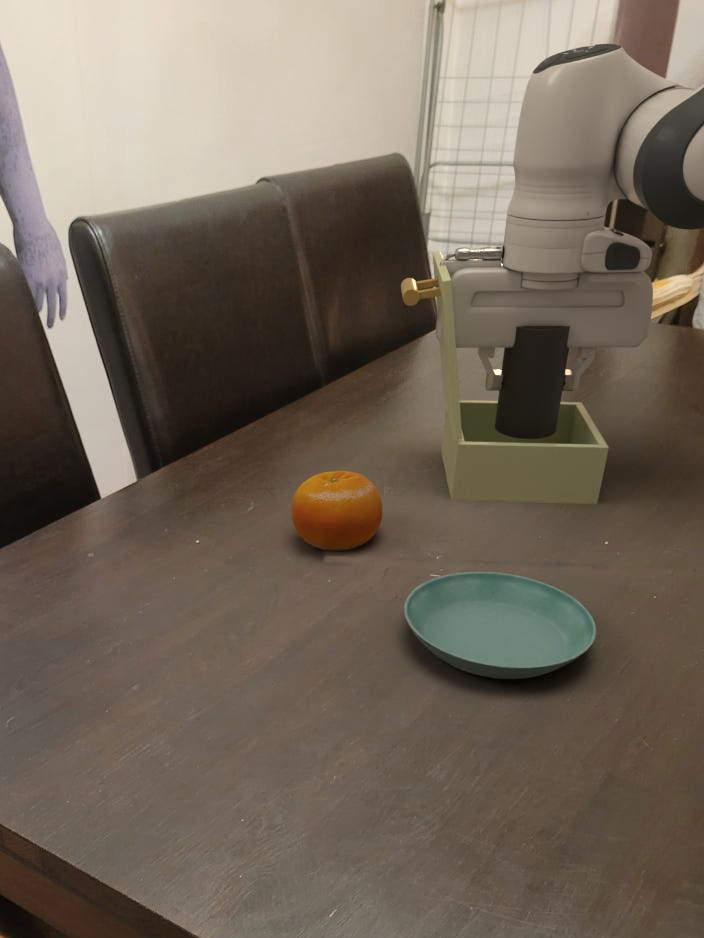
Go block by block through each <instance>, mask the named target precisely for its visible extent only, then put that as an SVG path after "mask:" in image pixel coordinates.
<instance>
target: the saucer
mask: <svg viewBox="0 0 704 938" xmlns="http://www.w3.org/2000/svg"><path fill="white" fill-rule="evenodd" d="M403 614H404V618H405V620H406V621H407V624H408V626H409V628H410V629H411V631H412V633H413V634H414V635H415V636H416V638H417V639H418V641H419V642H420V643H421V644H422V645H423V646H424V647H426V649H427V650H429V651H430V652H431V653H432V654H433V655H435V656H436V657H437V658H439V659H440V660H441V661H443V662H445V663H446V664H448V665H450V666H452V667H453V668H456V669H458V670H460V671H463V672H466V673H469V674H472V675H476V676H480V677H486V678H491V679H500V680H521V679H530V678H536V677H539V676H544V675H545V674H548V673H551V672H553V671H557V670H558V669H561V668H563V667H565V666H567V665H568V664H570V663H572V662H574V661H575V660H576V659H578V658H579V657H581V656H582V655H584V654H585V653H586V652H587V651H588V650H589V649H590V648H591V647H592V645H593V643H594V642H595V640H596V636H597V625H596V622H595V619H594V618H593V616H592V615H591V613H590V612H589V610H588V608H586V607H585V606H584V604H582V603H581V602H580V601H579V600H578V599H576V598H575V597H573V596H572V595H570V594H569V593H567V592H565V591H563V590H562V589H559V588H558V587H555V586H553V585H550V584H548V583H545V582H543V581H540V580H537V579H533V578H529V577H527V576H521V575H518V574H512V573H511V574H509V573H504V572H496V571H464V572H463V571H462V572H455V573H450V574H449V573H448V574H445V575H440V576H437V577H434V578H432V579H429V580H426V581H425V582H423V583H421V584H419V585H417V586H416V587H415V588H414V589H413V590H412V591H410V592H409V594H408V595H407V597H406V599H405V602H404V605H403Z"/></svg>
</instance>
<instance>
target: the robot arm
mask: <svg viewBox="0 0 704 938" xmlns="http://www.w3.org/2000/svg"><path fill="white" fill-rule="evenodd" d="M517 123H518V124H517V130H516V137H515V142H514V143H515V144H514V152H513V158H512V159H513V160H512V163H513V164H512V166H513V170H514V187H513V193H512V196H511V199H510V201H509V202H508V206H507V211H506V212H507V213H506V221H505V229H504V236H503V237H504V238H503V245H502V246H484V247H478V248H477V247H476V248H470V247H465V246H464V247H458V248H456V249H455V250H454V251H453V252H450V253H448V254H447V255H445V256H444V257H443V259H442V261H441V262H440V265H439V266H444V265H446V267H447V270H448V273H449V275H450V278H451V281H452V296H453V311H454V325H455V340H456V349H477V354H478V357H479V359H480V362H481V364H482V366H483V368H484V370H485V372H486V373H485V381H484V382H485V383H484V385H485V390H486V391H487V392H493V391H494V392H497V391H498V392H499V391H501V389H502V384H501V383H502V381H503V373H502V369H494V368H493V366H492V364H491V361H490V359H494V358H495V353H496V349H504V348H512V347H513V346H514V342H515V335H516V327H523V326H569V327H570V329H569V335H568V343H567V347H568V348H569V349H571V348H573V349H574V348H576V353H577V354H578V355H579V357H578V358H577V359H576V360H575V362H574V363H573V365H572V366H571V368H570V369H566V371H565V377H564V384H563V390H562V392H577V391H578V389H579V385H580V379H581V375H583V374H584V372H586V370H587V369H588V368H589V366H590V365H591V364H592V363H593V361H594V360H595V359H596V353H597V348H639V347H640V346H641V345H642V343H644V342H645V340H647V338H648V337H649V334H650V329H651V322H652V316H653V315H652V314H653V301H654V287H653V283H652V280H651V278H650V277H649V275H648V274H646V272H645V271H646V270H647V269H648V268H649V267H650V266H651V262H652V259H653V250H652V249H651V247H650V246H649V244H647V243H646V242H644V241H643V240H642V239H640V238H638V237H636V236H634V235H631V234H629V233H626V232H622V231H621V230H619V229H616V228H613V227H612V228H611V227H608V226H607V227H606V226H605V221H606V216H607V209H608V206H609V204H611V203H612V202H614V201H616V200H629V201H630V202H632V203H633V204H635V205H637V206H639V207H641V208H644V209H646V210H647V211H648V212H649V213H650V214H652V216H654V217H655V218H656V219H657V220H658V221H660V222H662V223H663V224H665V225H667V226H669V227H672V228H675V229H679V230H689V231H691V230H701V229H704V83H703V84H701V86H698V87H697V88H691V87H686V86H684V85H682V84H681V85H680V84H678V83H677V82H674V81H672V80H670V79H667V78H665V77H662V76H660V75H659V74H657V73H655V72H653V71H651V70H649V69H648V68H647V67H644V66H643V65H641V64H640V63H639V62H637V61H636V60H635V59H634V58H633V57H631V55H629V54H628V53H627V52H626V50H625V49H624V48H623V46H621V45H620V44H616V43H598V44H594V45H590V46H588V45H586V46H581V47H577V48H572V49H568V50H564V51H561V52H557V53H555V54H552V55H550V56H548V57H546V58H545V59H543V60H542V61H541V62H540V63H539V64H538V65H537V66H536V67H535V68H534V69H533V71H532V73H531V74H530V76H529V79H528V81H527V84H526V86H525V91H524V94H523V99H522V103H521V107H520V112H519V118H518V122H517ZM451 258H454V259H451ZM437 286H438V287H439V281H438V278H437ZM436 315H437V314H436ZM435 336H436V339H437V341H438V342H440V343H441V344H442V346H443V347H444V336H443V323H442V312H441V308H440V305H439V309H438V315H437V316H436V323H435Z"/></svg>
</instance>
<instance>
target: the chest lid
mask: <svg viewBox="0 0 704 938" xmlns="http://www.w3.org/2000/svg"><path fill="white" fill-rule="evenodd" d="M443 258H444V257H443V254H442V252H441V251H440V250H437V251H433V252H432V261H433V262H432V265H433V276H434V277H433V278H429V279H424V280H417V281H416V280H415V279H414V278H413V277H406V278H405V279H403V280H402V281H401V284H400V291H401V292H400V293H401V296H402V301H403V303H404V304H405V305H406V306H408V307H414V306H415V305H417V304H418V303H419V301H420V300H425V299H431V298H435V302H436V304H435V305H436V315H438V309H439V305H440V308H441V312H442V323H443V336H444V347H443V346H442V344H441V343H440V342H439V341H438V342H439V355H440V369H441V370H440V371H441V380H442V381H441V382H442V393H443V395H442V396H443V400H444V404H445V409H446V408H447V412H448V417H449V421H450V425H451V429H452V433H453V437H454V440H457V439H462V429H461V414H460V400H461V399H460V387H459V384H460V383H459V374H458V373H459V372H458V371H459V370H458V358H457V357H458V356H457V348H456V340H455V325H454V311H453V296H452V281H451V278H450V275H449V273H448V270H447V267H446V265H444V266H439V265H440V262H441V261H442V259H443ZM437 278H438V281H439V287H438V286H437Z"/></svg>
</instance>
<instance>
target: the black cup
mask: <svg viewBox="0 0 704 938" xmlns="http://www.w3.org/2000/svg"><path fill="white" fill-rule="evenodd" d="M569 329H570V327H569V326H523V327H516V335H515V342H514V346H513V347H512V348H503V356H502V358H503V359H502V364H501V370H502V373H503V381H502V383H501V384H502V389H501V391H498V398H497V401H498V405H497V413H496V421H495V429H496V430H497V431H498V432H499V433H501V434H503V435H506V436H510V437H514V438H521V439H539V438H545V437H549V436H551V435H553V434H554V433H555V432H556V428H557V421H558V415H559V409H560V403H561V402H562V396H563V391H562V390H563V384H564V377H565V371H566V370H567V364H568V357H569V351H570V348H568V347H567V343H568V335H569Z"/></svg>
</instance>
